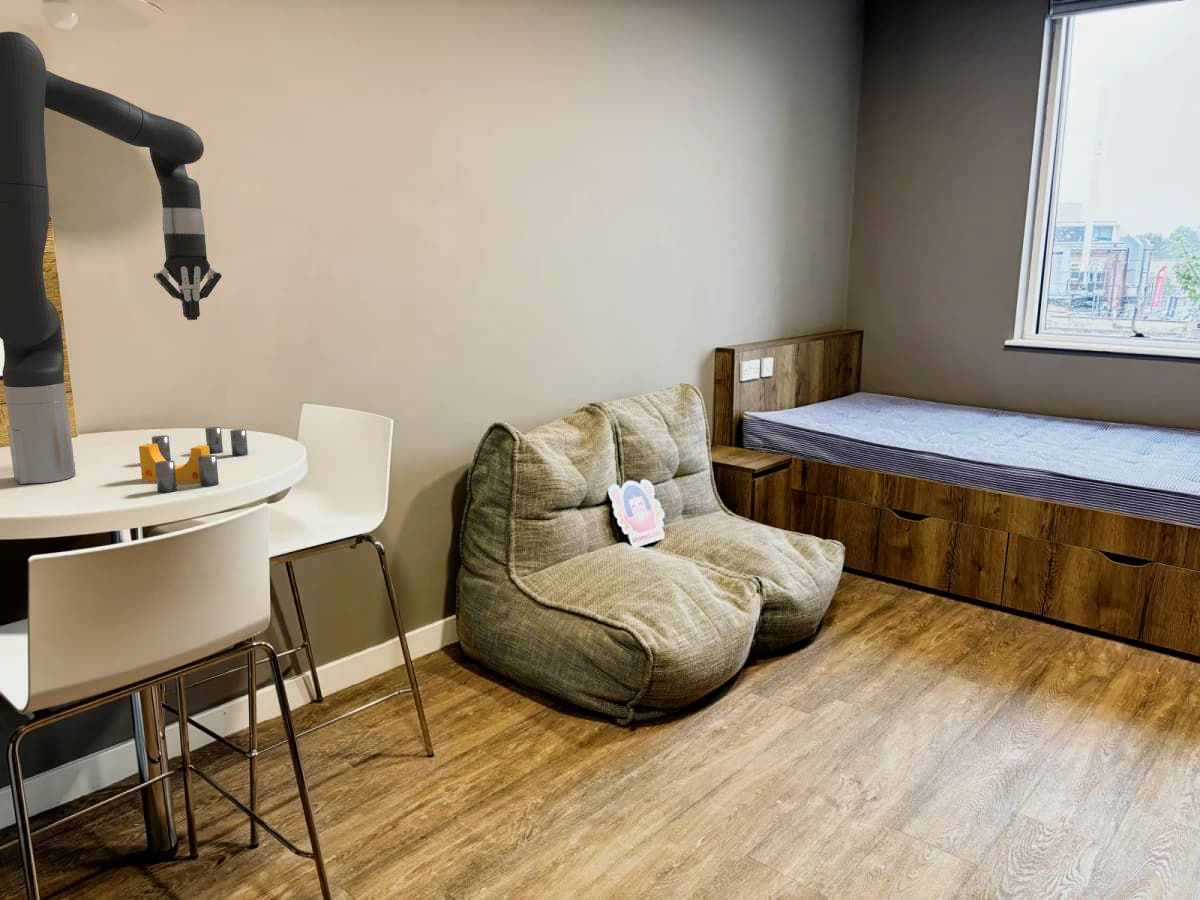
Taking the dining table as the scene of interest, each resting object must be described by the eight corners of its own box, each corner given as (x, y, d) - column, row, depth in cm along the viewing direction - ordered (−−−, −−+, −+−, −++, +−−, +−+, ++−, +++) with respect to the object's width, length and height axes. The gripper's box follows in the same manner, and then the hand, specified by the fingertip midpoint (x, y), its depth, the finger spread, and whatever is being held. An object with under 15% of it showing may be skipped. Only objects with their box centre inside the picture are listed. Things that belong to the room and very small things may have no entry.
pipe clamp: (217, 478, 165) (214, 443, 163) (203, 484, 161) (200, 448, 159) (157, 475, 167) (153, 441, 165) (142, 481, 162) (138, 446, 161)
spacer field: (160, 493, 153) (157, 465, 152) (114, 463, 176) (112, 438, 175) (293, 473, 168) (291, 447, 167) (234, 448, 191) (232, 424, 190)
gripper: (153, 231, 173) (162, 322, 176) (224, 232, 181) (231, 319, 185) (143, 232, 179) (152, 320, 182) (212, 233, 187) (219, 317, 190)
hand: (192, 319), depth 183 cm, fingers closed
